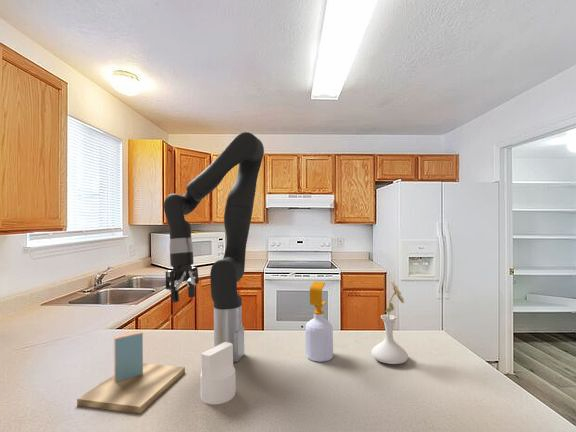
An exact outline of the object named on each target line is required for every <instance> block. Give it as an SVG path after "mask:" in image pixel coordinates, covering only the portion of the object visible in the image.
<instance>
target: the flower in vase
mask: <svg viewBox="0 0 576 432" xmlns="http://www.w3.org/2000/svg"><path fill="white" fill-rule="evenodd" d="M390 285H391V287H392V290H393V294H392V295H391V297H390V299H389V301H388V302H389V303H388V308H387V309H386V310H384V312H386V313H387V314H382V315H380V318H381V320H382V321H383V323H384V324H383V325H384V329H385V335H384V339H383V340H382V341H381V342H379V343H378V344H376V345H375V346H374V347H373V348H372V349H371V355H372V357H373V358H374V359H375V360H377V361H378V362H381V363H384V364H388V365H398V364H399V365H400V364H404V363H405V362H407V361H408V360H409V354H408V352H407V351H406V350H405V349H404V348H403V347H402V346H401V345H399V344H398V343H397V342H396V341H395V339H394V335H393V332H394V331H393V330H394V325H395V322H396V320H397V319H398V317H397V316H396V315H393V314H390V313H391V312H392V311H394V310H395V307H394V304H393V303H392V299H393V297H394V296H396V297H397V299H398V300H399V302H400V303H402V304H404V303H405V299H404V297H403V296H402V293H401V291H399V287H398V285H397V284H395V282H394V281H393V280H391V281H390Z"/></svg>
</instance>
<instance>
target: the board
mask: <svg viewBox="0 0 576 432" xmlns="http://www.w3.org/2000/svg"><path fill="white" fill-rule="evenodd" d="M185 373H186V367H185V366H177V365H164V364H154V363H153V364H152V363H144V362H143V374H142V375H138V376H135V377H132V378H128V379H125V380H122V381H118V382H115V380H114V374H113V375H111V376H110V377H108V378H107V379H106V380H104V381H103V382H101V383H100V384H99V383H98V385H96V386H95V387H93V388H92V389H90V390H88V391H87V392H86V393H84V394H83V395H81V396H79V397H78V398H77V399H76V400H77V401H76V405H77V406H80V407H85V408H94V409H102V410H111V411H116V412H124V413H125V412H126V413H134V414H141V413H143V411H145V410H146V409H147V408H148V407H149V406H150V405H151V404H152V403H153V402H155V401H156V399H158V398H159V397H160V396H161V395H162V394H163V393H164V392H165V391H166V390H167V389H169V388H170V387H171V386H172V385H173V384H174V383H176V382H177V380H178V379H180V378H181V377H182V376H183V375H184V374H185Z"/></svg>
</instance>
